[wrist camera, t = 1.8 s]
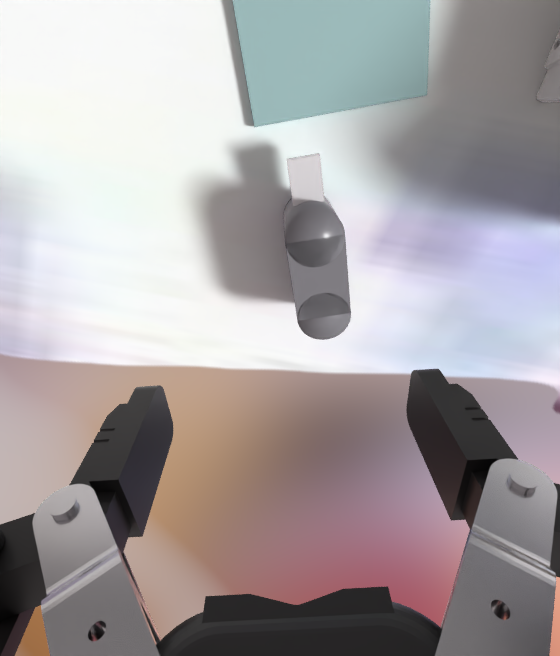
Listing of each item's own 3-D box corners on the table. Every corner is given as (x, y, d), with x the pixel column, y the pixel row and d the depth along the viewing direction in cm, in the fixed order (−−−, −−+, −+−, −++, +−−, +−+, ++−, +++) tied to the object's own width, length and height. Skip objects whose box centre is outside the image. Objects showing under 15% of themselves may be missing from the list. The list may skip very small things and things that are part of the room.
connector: (326, 147, 28) (339, 156, 22) (340, 301, 34) (352, 335, 29) (273, 157, 28) (273, 167, 23) (297, 307, 34) (301, 342, 29)
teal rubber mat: (430, -112, 21) (433, -117, 20) (424, 95, 26) (427, 95, 25) (221, -65, 22) (220, -69, 21) (254, 126, 27) (254, 127, 26)
